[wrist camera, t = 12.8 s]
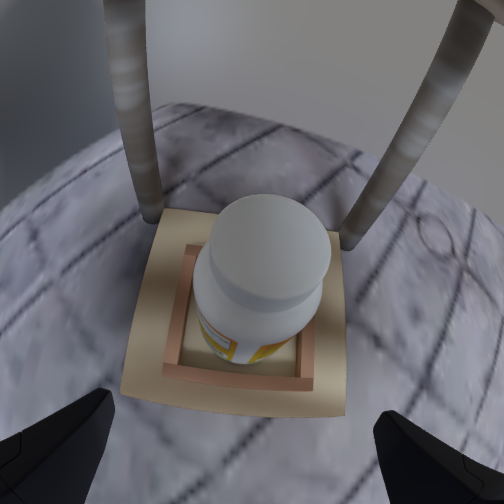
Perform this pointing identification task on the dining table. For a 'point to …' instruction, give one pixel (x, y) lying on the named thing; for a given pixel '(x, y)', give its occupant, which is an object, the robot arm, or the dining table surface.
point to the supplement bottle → (259, 276)
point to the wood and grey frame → (200, 225)
